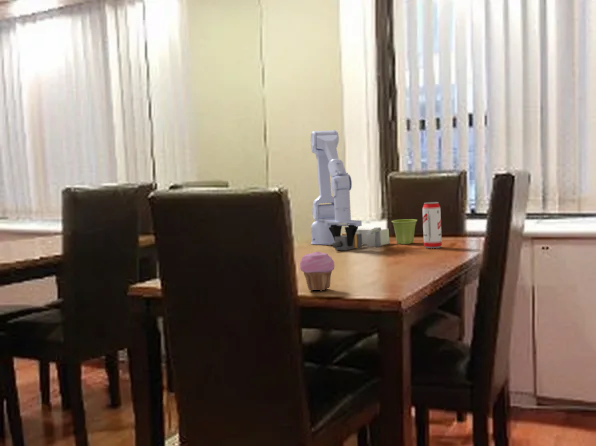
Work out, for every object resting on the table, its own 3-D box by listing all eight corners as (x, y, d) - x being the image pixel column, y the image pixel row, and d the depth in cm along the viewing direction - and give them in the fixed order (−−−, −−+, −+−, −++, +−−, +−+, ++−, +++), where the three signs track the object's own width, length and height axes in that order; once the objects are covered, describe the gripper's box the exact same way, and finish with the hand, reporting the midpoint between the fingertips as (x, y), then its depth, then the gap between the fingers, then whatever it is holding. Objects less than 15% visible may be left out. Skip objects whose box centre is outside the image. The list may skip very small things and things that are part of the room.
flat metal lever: (372, 234, 261) (372, 231, 261) (365, 234, 262) (365, 231, 262) (381, 230, 274) (381, 227, 274) (374, 230, 275) (374, 227, 275)
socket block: (342, 245, 282) (341, 230, 281) (358, 242, 290) (357, 227, 290) (379, 247, 272) (378, 231, 272) (393, 243, 281) (393, 228, 280)
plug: (328, 251, 267) (327, 236, 267) (350, 246, 279) (349, 232, 278) (341, 251, 264) (340, 237, 263) (363, 246, 275) (362, 232, 275)
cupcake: (328, 293, 184) (326, 254, 184) (296, 293, 188) (294, 254, 187) (340, 287, 193) (338, 249, 192) (308, 287, 196) (306, 249, 195)
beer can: (441, 246, 266) (439, 201, 264) (442, 248, 259) (441, 202, 258) (423, 247, 266) (421, 202, 265) (424, 249, 260) (422, 203, 259)
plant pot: (419, 244, 275) (418, 220, 274) (393, 245, 275) (393, 222, 274) (416, 241, 284) (415, 218, 283) (391, 242, 284) (390, 220, 284)
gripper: (319, 209, 270) (321, 246, 271) (353, 209, 261) (355, 247, 263) (330, 207, 276) (332, 244, 277) (364, 207, 267) (365, 245, 268)
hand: (344, 245), depth 270 cm, fingers closed on plug, 5 cm apart
